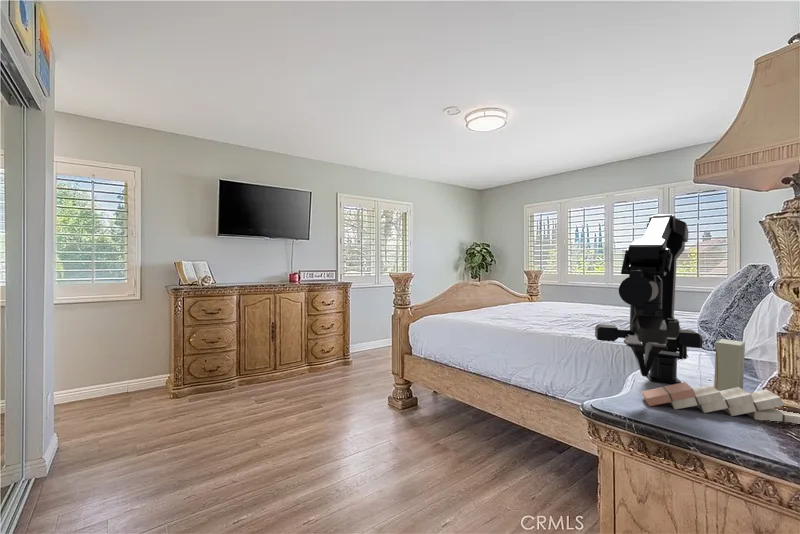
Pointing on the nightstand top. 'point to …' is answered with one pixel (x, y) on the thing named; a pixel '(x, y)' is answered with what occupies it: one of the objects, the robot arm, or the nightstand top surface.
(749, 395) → the domino
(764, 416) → the domino
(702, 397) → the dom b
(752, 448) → the nightstand top surface
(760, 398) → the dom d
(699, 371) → the nightstand top surface
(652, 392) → the domino
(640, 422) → the nightstand top surface
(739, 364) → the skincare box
